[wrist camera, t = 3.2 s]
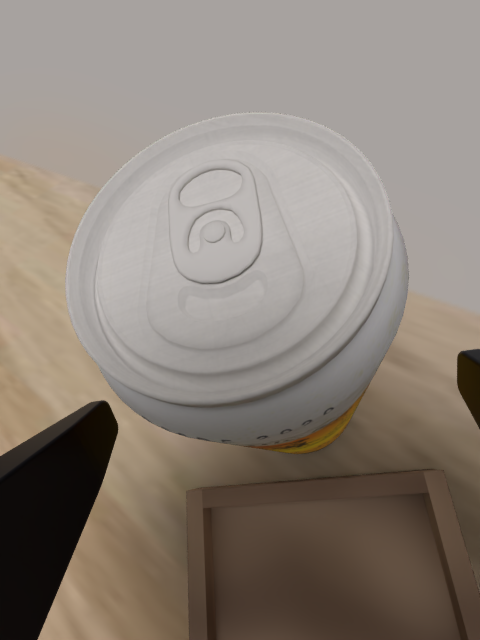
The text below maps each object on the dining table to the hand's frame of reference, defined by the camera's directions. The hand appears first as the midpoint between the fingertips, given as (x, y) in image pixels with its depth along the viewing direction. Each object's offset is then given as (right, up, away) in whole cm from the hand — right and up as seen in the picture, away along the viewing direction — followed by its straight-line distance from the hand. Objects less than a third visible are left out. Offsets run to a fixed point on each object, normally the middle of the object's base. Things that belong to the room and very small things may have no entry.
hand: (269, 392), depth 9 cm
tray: (+3, -11, +6) cm, 13 cm away
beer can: (+2, -2, +10) cm, 11 cm away
